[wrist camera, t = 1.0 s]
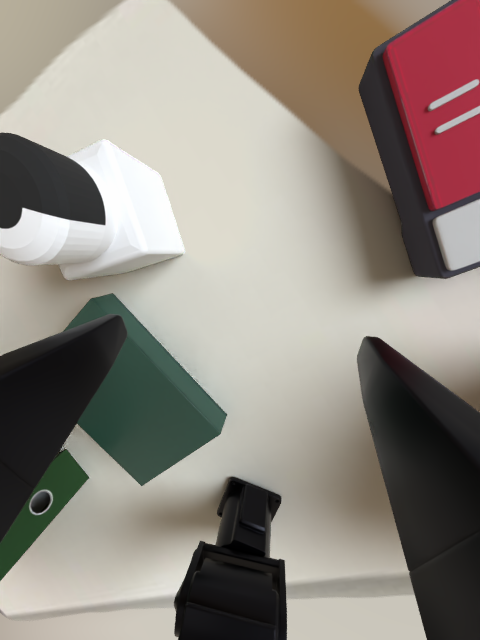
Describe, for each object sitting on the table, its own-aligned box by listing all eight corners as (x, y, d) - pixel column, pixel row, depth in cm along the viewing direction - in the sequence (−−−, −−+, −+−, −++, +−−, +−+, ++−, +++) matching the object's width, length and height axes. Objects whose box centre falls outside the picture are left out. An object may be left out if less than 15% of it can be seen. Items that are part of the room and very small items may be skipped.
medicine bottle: (95, 200, 23) (-93, 147, 11) (161, 172, 21) (19, 78, 10) (124, 273, 24) (-16, 292, 13) (187, 253, 23) (91, 254, 11)
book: (227, 414, 27) (220, 433, 24) (154, 464, 31) (141, 486, 28) (112, 293, 25) (91, 298, 22) (51, 362, 29) (26, 374, 26)
